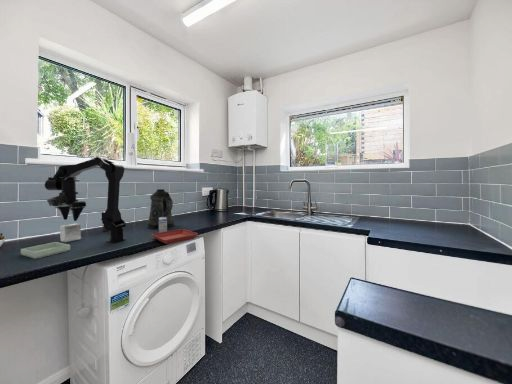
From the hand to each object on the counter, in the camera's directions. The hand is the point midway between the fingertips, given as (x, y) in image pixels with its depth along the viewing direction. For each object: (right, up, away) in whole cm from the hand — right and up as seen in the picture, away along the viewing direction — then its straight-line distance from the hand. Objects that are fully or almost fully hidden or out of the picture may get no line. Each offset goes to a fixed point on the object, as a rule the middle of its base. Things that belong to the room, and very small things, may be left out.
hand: (70, 220), depth 117 cm
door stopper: (+6, -9, +25) cm, 28 cm away
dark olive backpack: (+34, -9, +34) cm, 49 cm away
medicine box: (+41, -10, +17) cm, 46 cm away
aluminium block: (0, -11, +1) cm, 11 cm away
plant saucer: (+53, -11, +2) cm, 55 cm away
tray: (+6, -12, -20) cm, 24 cm away
